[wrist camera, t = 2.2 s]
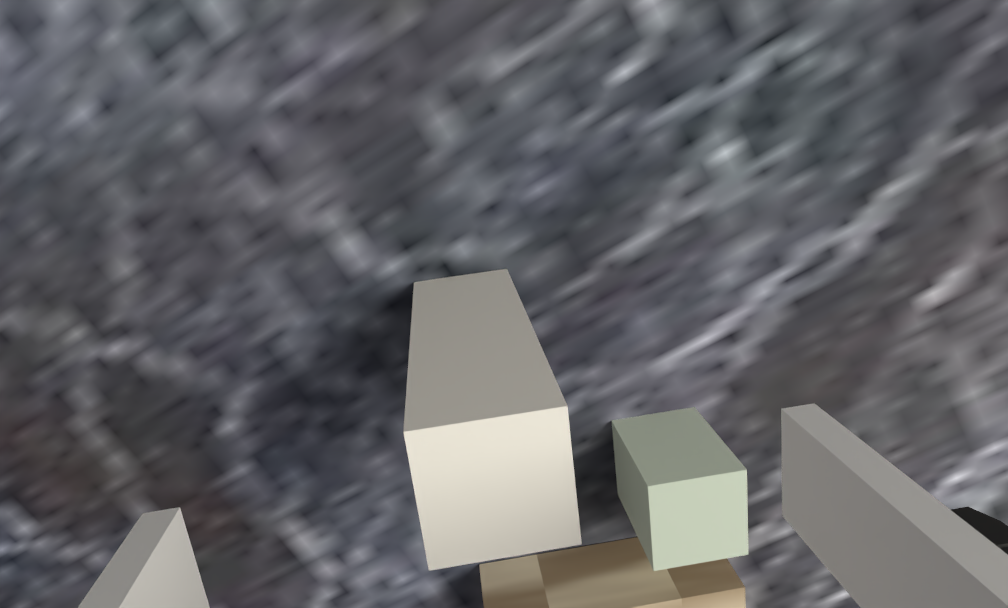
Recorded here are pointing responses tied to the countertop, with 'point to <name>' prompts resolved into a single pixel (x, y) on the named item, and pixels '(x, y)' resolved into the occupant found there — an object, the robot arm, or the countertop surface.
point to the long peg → (485, 426)
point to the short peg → (680, 488)
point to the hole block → (607, 581)
